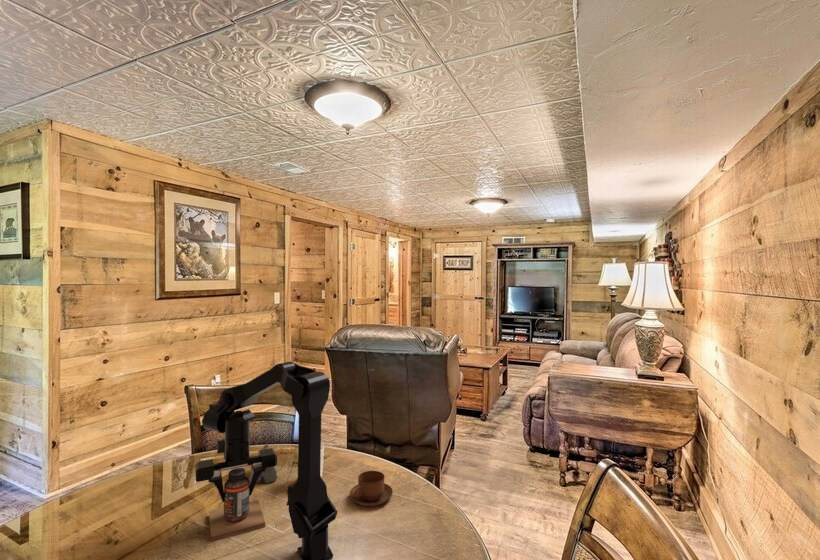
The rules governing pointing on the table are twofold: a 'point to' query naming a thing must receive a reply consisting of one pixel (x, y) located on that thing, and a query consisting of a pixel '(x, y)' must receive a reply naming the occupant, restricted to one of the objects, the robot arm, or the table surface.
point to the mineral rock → (268, 472)
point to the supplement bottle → (236, 495)
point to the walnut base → (235, 522)
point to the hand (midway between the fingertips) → (237, 497)
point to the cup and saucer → (371, 489)
